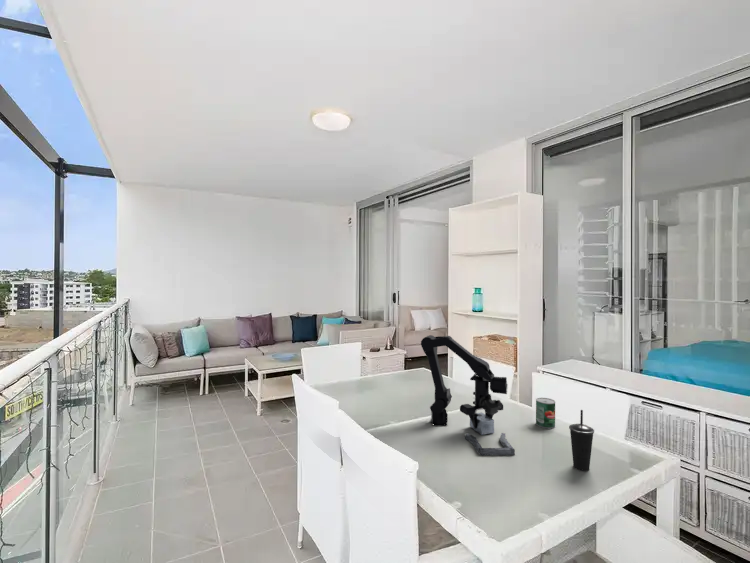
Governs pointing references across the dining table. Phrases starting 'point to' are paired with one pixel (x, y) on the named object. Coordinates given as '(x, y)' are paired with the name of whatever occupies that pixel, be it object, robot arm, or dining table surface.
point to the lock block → (483, 424)
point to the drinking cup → (581, 444)
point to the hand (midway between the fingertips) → (481, 427)
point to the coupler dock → (492, 451)
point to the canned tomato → (545, 412)
